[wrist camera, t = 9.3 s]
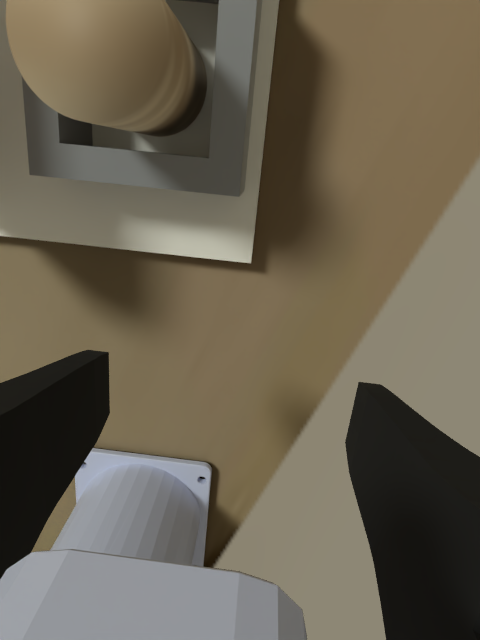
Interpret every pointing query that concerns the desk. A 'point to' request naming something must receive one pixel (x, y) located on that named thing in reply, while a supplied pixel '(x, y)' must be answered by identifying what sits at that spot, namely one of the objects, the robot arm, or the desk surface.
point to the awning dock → (147, 152)
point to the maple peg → (109, 62)
